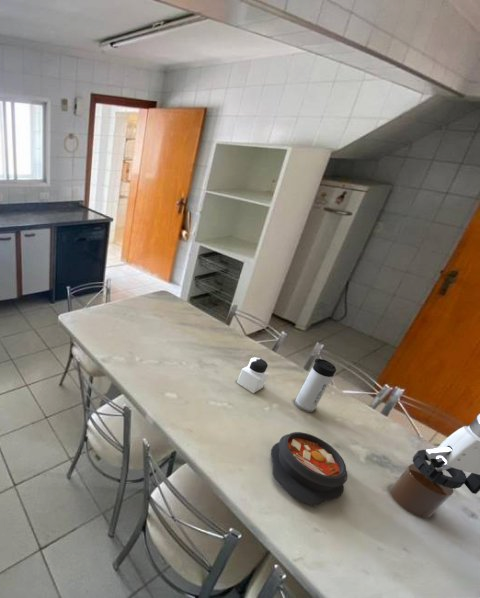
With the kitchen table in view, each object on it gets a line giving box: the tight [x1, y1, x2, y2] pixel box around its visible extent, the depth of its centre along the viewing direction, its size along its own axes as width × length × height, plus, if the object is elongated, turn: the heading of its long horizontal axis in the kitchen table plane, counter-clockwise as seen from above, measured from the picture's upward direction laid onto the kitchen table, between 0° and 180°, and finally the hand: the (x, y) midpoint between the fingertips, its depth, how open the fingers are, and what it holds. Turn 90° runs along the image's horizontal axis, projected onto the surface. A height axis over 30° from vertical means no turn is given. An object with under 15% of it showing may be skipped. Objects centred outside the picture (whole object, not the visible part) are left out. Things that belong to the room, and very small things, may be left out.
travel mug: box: [294, 358, 337, 413], centre depth 117 cm, size 6×7×20 cm
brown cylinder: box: [389, 463, 454, 519], centre depth 88 cm, size 9×9×13 cm
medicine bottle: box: [236, 357, 270, 394], centre depth 127 cm, size 7×7×12 cm
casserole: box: [270, 431, 348, 507], centre depth 95 cm, size 25×19×8 cm
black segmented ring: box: [412, 449, 467, 490], centre depth 85 cm, size 9×9×2 cm
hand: (448, 482), depth 81 cm, fingers closed on black segmented ring, 7 cm apart
